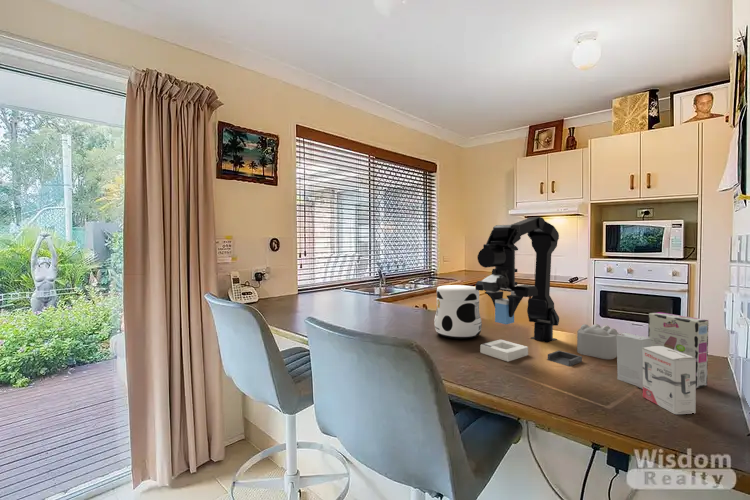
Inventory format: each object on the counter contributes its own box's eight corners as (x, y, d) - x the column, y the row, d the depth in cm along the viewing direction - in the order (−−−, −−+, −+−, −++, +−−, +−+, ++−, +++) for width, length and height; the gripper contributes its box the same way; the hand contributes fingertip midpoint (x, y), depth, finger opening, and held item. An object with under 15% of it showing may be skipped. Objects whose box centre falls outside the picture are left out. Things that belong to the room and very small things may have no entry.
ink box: (640, 397, 82) (641, 345, 82) (660, 396, 83) (661, 345, 82) (674, 415, 74) (676, 358, 73) (697, 414, 74) (698, 357, 74)
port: (500, 348, 119) (500, 338, 119) (528, 356, 110) (528, 346, 110) (480, 354, 113) (480, 344, 113) (507, 363, 105) (507, 352, 105)
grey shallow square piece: (559, 356, 110) (559, 350, 110) (582, 363, 104) (582, 356, 104) (546, 361, 106) (546, 354, 106) (569, 368, 100) (569, 361, 100)
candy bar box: (708, 386, 88) (710, 319, 87) (696, 389, 86) (698, 321, 85) (658, 370, 98) (659, 311, 98) (646, 373, 96) (647, 312, 96)
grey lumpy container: (573, 354, 112) (573, 327, 112) (585, 345, 121) (586, 320, 121) (612, 362, 105) (613, 333, 104) (622, 352, 114) (623, 325, 113)
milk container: (429, 330, 142) (429, 285, 141) (471, 328, 144) (471, 284, 143) (442, 343, 125) (441, 292, 124) (489, 341, 127) (489, 290, 126)
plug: (503, 320, 114) (503, 298, 114) (514, 322, 111) (514, 300, 110) (495, 321, 112) (495, 299, 111) (506, 324, 108) (506, 301, 108)
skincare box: (652, 386, 88) (653, 337, 87) (642, 390, 86) (643, 340, 85) (625, 377, 93) (626, 331, 93) (615, 381, 91) (616, 334, 91)
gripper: (463, 265, 114) (463, 313, 114) (515, 269, 98) (515, 325, 99) (486, 263, 120) (486, 309, 121) (539, 267, 105) (538, 320, 105)
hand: (504, 315), depth 111 cm, fingers closed on plug, 4 cm apart
